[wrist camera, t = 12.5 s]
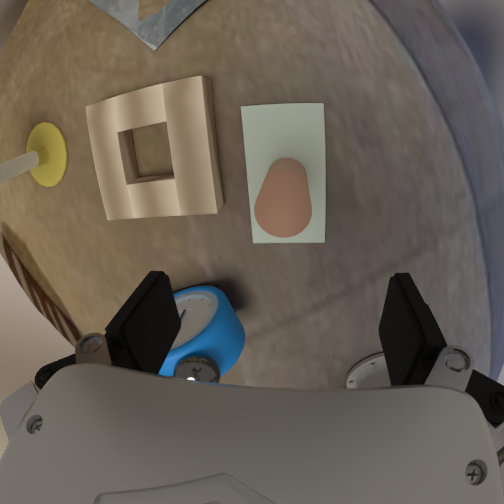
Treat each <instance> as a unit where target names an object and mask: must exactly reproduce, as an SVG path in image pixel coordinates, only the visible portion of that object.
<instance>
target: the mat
mask: <svg viewBox="0 0 504 504" xmlns="http://www.w3.org/2000/svg"><path fill="white" fill-rule="evenodd" d="M241 113H242V124H243V135H244V146H245V157H246V169H247V180H248V191H249V202H250V213H251V224H252V235H253V243H325V212H326V157H325V124H324V104H323V103H289V104H267V105H252V106H241ZM281 158H291V159H294V160H296V161H298V162H299V163H300V164H301V165H302V166H303V167H304V169H305V171H306V176H307V181H308V187H309V193H310V199H311V205H312V217H311V220H310V222H309V224H308V226H307V227H306V228H305V229H304V230H303V231H302V232H301V233H299V234H297V235H295V236H292V237H288V238H280V237H275V236H272V235H270V234H268V233H267V232H265V231H264V230H263V229H262V228H261V227H260V226H259V224H258V223H257V221H256V218H255V215H254V205H255V201H256V199H257V197H258V194H259V192H260V189H261V187H262V184H263V182H264V179H265V177H266V174H267V172H268V169H269V167H270V166H271V165H272V163H274V162H275V161H276V160H278V159H281Z"/></svg>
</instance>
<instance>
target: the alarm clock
mask: <svg viewBox="0 0 504 504" xmlns="http://www.w3.org/2000/svg"><path fill="white" fill-rule="evenodd" d="M217 287H218V285H215V286H214V287H213V286H195V287H191V288H187V289H184V290H181V291H179V292H177V293H174V294H173V295H174V299H175V302H176V306H177V309H178V313H179V316H180V320H181V329H180V331H179V333H178V335H177V337H176V339H175V341H174V343H173V345H172V347H171V349H170V351H169V353H168V355H167V357H166V359H165V361H164V363H163V366H162V368H161V370H160V372H159V374H158V375H164V376H169V377H175V378H182V379H189V380H196V381H203V382H211V383H219V381H220V377H221V376H222V375H224V374H225V373H226V372H227V371H228V370H229V369H230V368H231V367H232V366H233V365H234V363H235V362H236V361H237V359H238V358H239V356H240V354H241V352H242V350H243V347H244V343H245V332H244V328H243V326H242V324H241V322H240V321H239V319H238V317H237V315H236V313H235V311H234V309H233V308H232V306H231V304H230V302H229V300H228V298H227V296H226V295H225V294H224V292H223V291H222V290H220V289H218V288H217Z"/></svg>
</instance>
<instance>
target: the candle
mask: <svg viewBox="0 0 504 504" xmlns="http://www.w3.org/2000/svg"><path fill="white" fill-rule="evenodd" d="M67 162H68V150H67V145H66V140H65V138H64V136H63V134H62V132H61V130H60V129H59V128H58V127H57V126H56V125H55V124H54V123H51V122H42V123H40V124H38V125H36V126H35V128H34V129H33V130H32V132H31V133H30V135H29V138H28V142H27V148H26V153H25V154H23V155H20V156H18V157H15V158H12V159H10V160H8V161H5V162H3V163H0V184H1V183H3V182H5V181H7V180H9V179H11V178H13V177H15V176H17V175H20V174H22V173H24V172H26V171H29V170H30V172H31V174H32V176H33V178H34V179H35V180H36V181H37V182H38V183H39V184H40V185H43V186H45V187H51V186H55V185H57V184H58V183H59V182H60V181H61V180H62V179H63V177H64V174H65V172H66V169H67Z"/></svg>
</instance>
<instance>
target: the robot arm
mask: <svg viewBox="0 0 504 504" xmlns="http://www.w3.org/2000/svg"><path fill="white" fill-rule="evenodd" d="M180 329H181V320H180V316H179V313H178V309H177V306H176V302H175V299H174V295H173V291H172V288H171V284H170V280H169V277H168V275H165V273H164V272H163V271H150V272H149V273H148V275H147V276H146V277H145V278H144V280H143V281H142V282H141V283H140V285H139V286H138V287H137V288H136V289H135V291H134V292H133V293H132V295H131V296H130V297H129V298H128V300H127V301H126V302H125V303H124V305H123V306H122V307H121V309H120V310H119V311H118V312H117V314H116V315H115V316H114V318H113V319H112V320H111V322H110V323H109V324H108V326H107V327H106V328H105V330H106V334H105V335H102V334H100V333H91V334H88V335H85V336H84V337H82V338H81V339H80V340H79V341H78V342H77V344H76V347H75V354H72V355H70V356H68V357H65V358H63V359H60V360H58V361H55V362H53V363H50V364H47V365H45V366H43V367H42V368H41V369H40V370H39V371H38V372H37V374H36V376H35V382H34V383H33V382H32V381H30V382H28V383H27V384H26V385H24V386H23V387H21V388H20V389H18V390H17V391H16V392H14V393H13V394H11V395H10V396H8V397H7V398H6V399H5V400H3V401H2V403H1V405H0V416H1V418H2V422H3V425H4V428H5V430H6V433H7V436H8V439H9V443H8V445H7V447H6V449H5V452H4V453H3V456H2V457H1V460H0V504H504V386H503V385H501V384H499V383H498V382H496V381H494V380H492V379H490V378H488V377H487V376H485V375H483V374H481V373H479V372H478V371H476V370H474V369H473V367H474V360H473V357H472V355H471V354H470V353H469V352H468V351H467V350H466V349H465V348H463V347H460V346H456V345H451V346H447V343H446V341H445V339H444V337H443V335H442V332H441V330H440V328H439V326H438V324H437V322H436V320H435V318H434V316H433V314H432V312H431V310H430V308H429V306H428V305H427V304H426V303H425V302H424V300H423V298H422V296H421V294H420V292H419V291H418V289H417V287H416V285H415V283H414V281H413V279H412V278H411V276H410V274H409V273H395V275H394V277H390V280H389V286H388V290H387V295H386V300H385V304H384V309H383V313H382V317H381V321H380V325H379V336H380V340H381V344H382V348H383V352H384V353H379V354H376V355H373V356H370V357H368V358H366V359H364V360H362V361H361V362H359V363H358V364H356V365H355V366H354V367H353V368H352V369H351V370H350V371H349V373H348V374H347V377H346V387H347V388H344V389H292V388H268V387H253V386H240V385H229V384H220V383H211V382H203V381H196V380H189V379H182V378H175V377H169V376H164V375H158V374H159V372H160V370H161V368H162V366H163V363H164V361H165V359H166V357H167V355H168V353H169V351H170V349H171V347H172V345H173V343H174V341H175V339H176V337H177V335H178V333H179V331H180Z"/></svg>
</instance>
